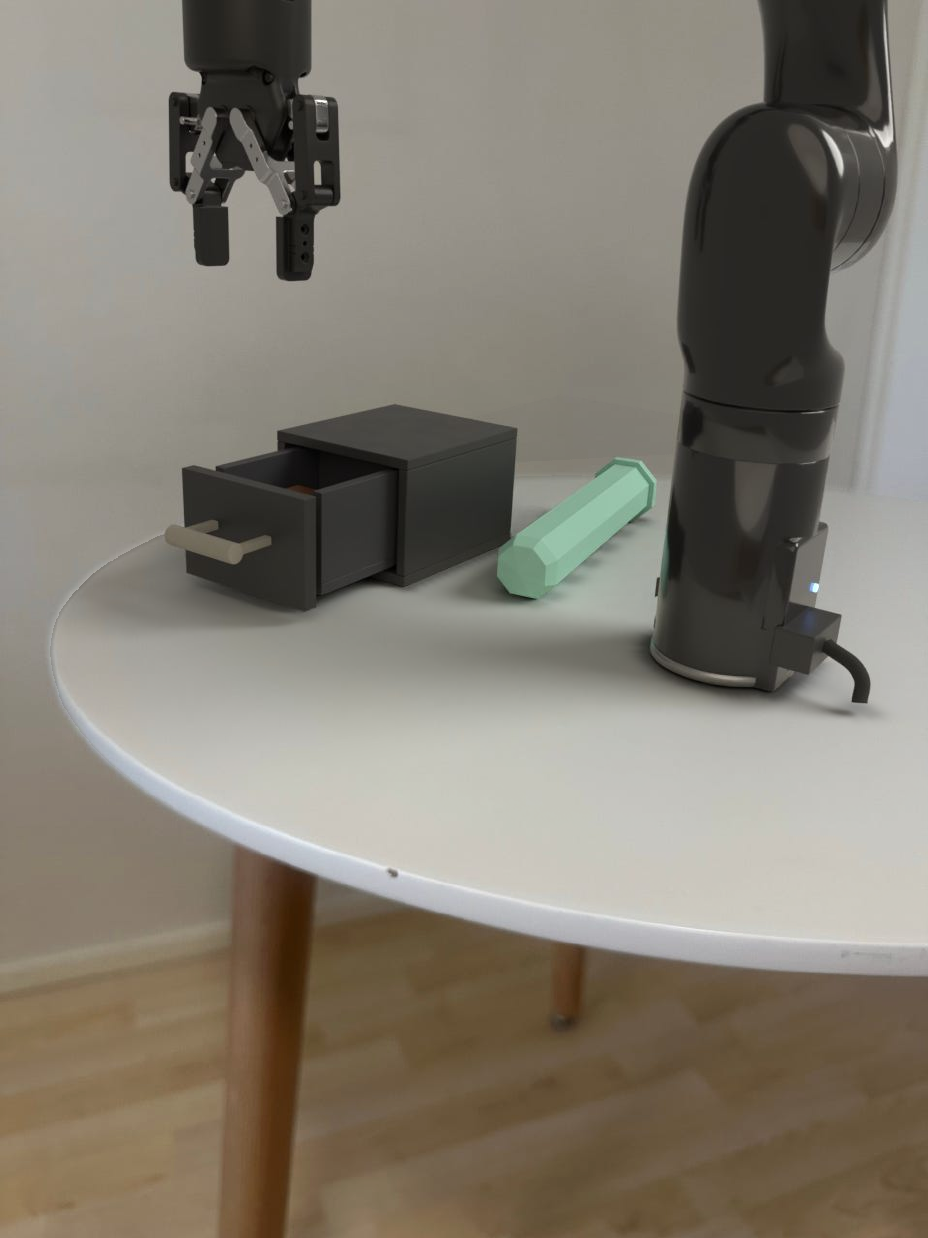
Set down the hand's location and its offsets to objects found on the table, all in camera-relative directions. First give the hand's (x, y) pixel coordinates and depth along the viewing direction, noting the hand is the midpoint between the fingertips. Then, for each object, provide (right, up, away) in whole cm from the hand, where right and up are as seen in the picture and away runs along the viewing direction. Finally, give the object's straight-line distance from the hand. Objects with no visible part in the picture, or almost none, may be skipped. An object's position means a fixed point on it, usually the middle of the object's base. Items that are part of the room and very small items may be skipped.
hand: (252, 272), depth 74 cm
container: (+22, -17, +20) cm, 35 cm away
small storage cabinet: (+8, -16, +20) cm, 27 cm away
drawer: (+1, -19, +10) cm, 21 cm away
